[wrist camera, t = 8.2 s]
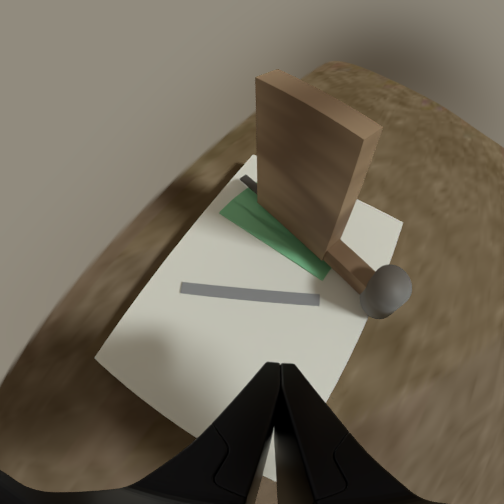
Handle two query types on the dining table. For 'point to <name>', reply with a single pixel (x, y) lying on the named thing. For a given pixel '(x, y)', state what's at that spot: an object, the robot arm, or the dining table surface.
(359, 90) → the dining table surface
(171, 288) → the green-marked white board
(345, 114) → the brown slab with knob
